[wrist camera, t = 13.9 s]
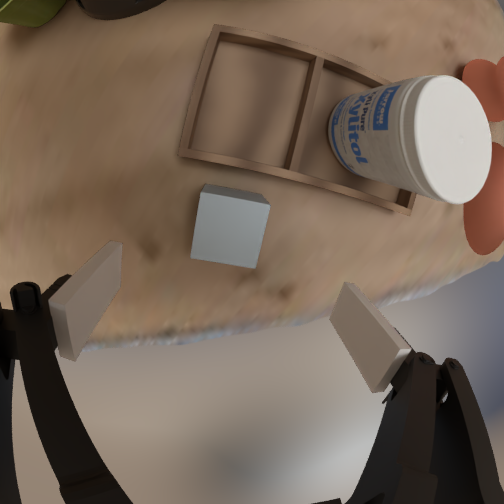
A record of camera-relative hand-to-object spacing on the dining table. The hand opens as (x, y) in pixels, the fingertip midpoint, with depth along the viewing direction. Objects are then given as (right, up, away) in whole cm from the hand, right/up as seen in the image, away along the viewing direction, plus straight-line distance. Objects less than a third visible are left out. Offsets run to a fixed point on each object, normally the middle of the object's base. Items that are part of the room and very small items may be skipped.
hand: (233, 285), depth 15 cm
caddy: (+8, +16, +11) cm, 21 cm away
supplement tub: (+13, +15, +11) cm, 23 cm away
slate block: (-2, +6, +14) cm, 15 cm away
